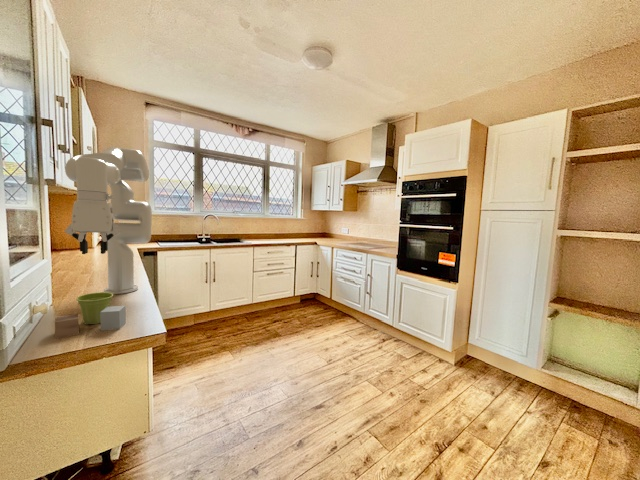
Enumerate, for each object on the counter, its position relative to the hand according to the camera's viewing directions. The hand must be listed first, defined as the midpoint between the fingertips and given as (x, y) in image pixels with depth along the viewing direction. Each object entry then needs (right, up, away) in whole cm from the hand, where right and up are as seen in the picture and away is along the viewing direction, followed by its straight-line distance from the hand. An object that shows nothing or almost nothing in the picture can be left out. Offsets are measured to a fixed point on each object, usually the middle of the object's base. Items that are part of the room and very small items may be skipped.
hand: (94, 252), depth 87 cm
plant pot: (-1, -23, +2) cm, 24 cm away
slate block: (+7, -24, -1) cm, 25 cm away
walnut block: (-2, -24, -7) cm, 25 cm away
